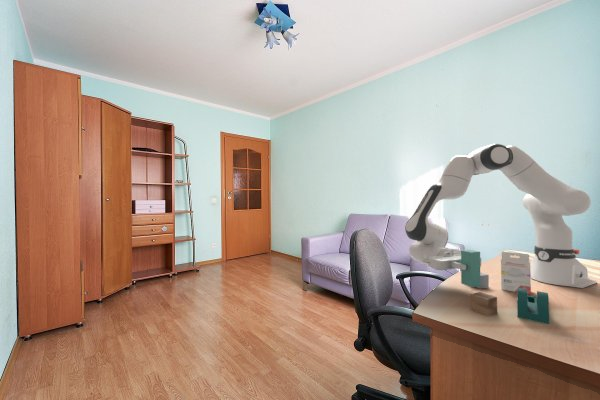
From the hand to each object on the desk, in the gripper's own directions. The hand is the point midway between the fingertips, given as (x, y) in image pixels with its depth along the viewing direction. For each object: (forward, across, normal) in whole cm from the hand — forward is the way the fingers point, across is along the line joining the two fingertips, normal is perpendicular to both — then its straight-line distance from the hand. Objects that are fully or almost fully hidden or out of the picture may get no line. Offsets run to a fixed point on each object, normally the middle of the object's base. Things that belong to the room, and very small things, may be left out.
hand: (472, 266), depth 91 cm
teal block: (-1, 0, +6) cm, 7 cm away
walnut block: (+9, -6, +11) cm, 16 cm away
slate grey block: (-10, +14, +11) cm, 20 cm away
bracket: (+12, +9, +12) cm, 19 cm away
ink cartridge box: (-2, +23, +12) cm, 26 cm away
